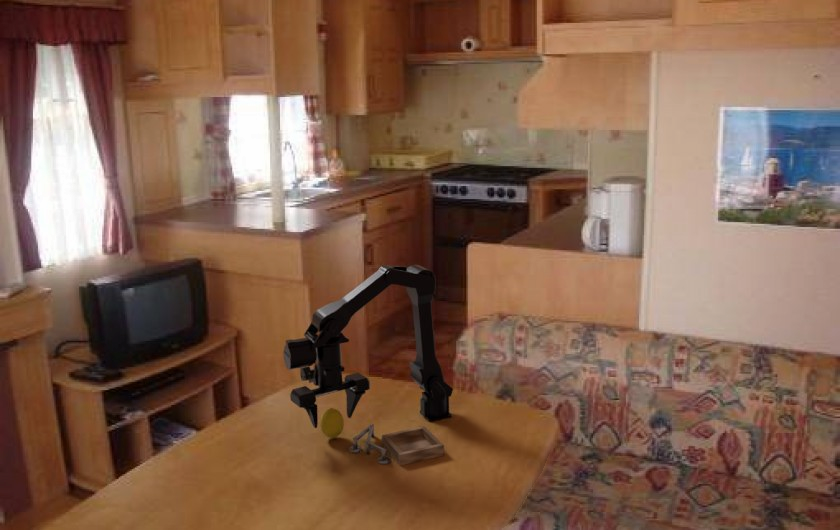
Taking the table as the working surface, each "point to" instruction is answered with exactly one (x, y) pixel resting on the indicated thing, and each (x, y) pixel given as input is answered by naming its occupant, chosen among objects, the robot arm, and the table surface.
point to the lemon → (332, 423)
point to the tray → (412, 445)
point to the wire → (369, 445)
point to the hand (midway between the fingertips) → (332, 422)
